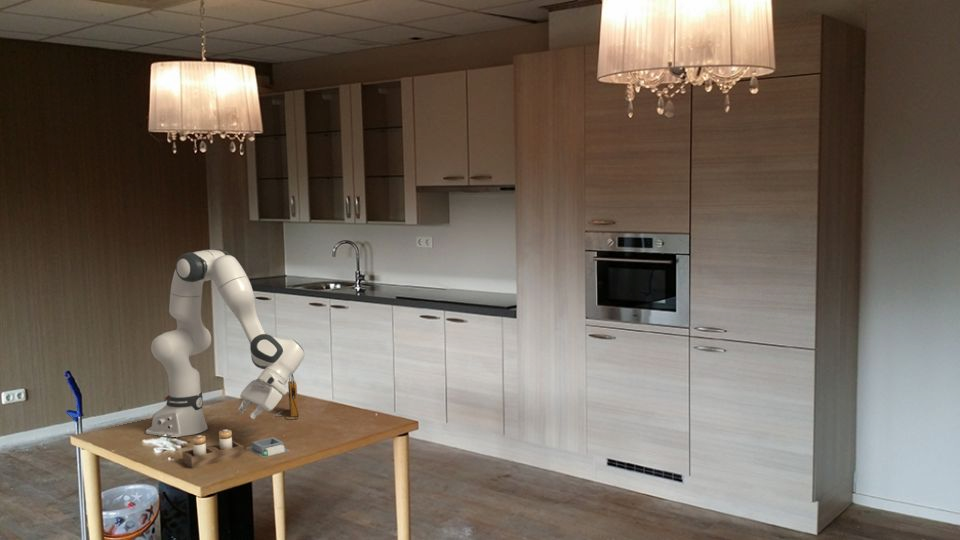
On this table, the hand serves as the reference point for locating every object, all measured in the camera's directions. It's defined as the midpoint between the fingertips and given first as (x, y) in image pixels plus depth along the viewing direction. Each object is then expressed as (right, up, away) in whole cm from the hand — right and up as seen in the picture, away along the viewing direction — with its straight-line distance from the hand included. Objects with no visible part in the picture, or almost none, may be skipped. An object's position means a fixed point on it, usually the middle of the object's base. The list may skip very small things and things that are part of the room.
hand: (245, 415), depth 288 cm
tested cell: (-5, -13, -3) cm, 15 cm away
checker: (+7, -13, +3) cm, 15 cm away
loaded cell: (-12, -14, -9) cm, 21 cm away
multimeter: (+2, -9, +48) cm, 49 cm away
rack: (-9, -15, -6) cm, 18 cm away
